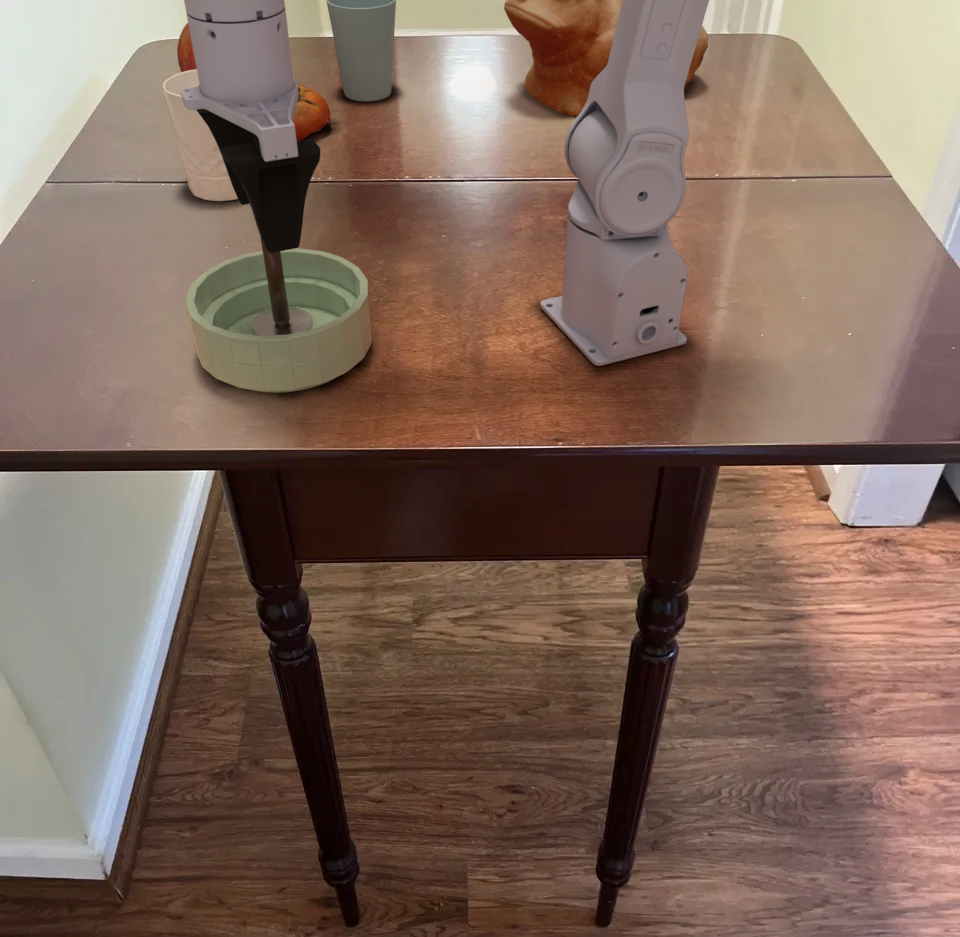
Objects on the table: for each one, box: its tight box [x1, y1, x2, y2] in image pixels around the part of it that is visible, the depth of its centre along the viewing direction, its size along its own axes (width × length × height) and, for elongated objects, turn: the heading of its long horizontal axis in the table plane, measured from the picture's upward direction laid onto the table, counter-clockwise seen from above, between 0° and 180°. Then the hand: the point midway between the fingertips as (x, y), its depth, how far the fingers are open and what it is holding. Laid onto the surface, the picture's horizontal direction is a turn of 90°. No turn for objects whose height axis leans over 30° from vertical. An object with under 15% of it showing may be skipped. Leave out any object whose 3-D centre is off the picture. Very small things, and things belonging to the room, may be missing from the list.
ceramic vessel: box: [503, 0, 709, 117], centre depth 109 cm, size 14×26×15 cm, turn 117°
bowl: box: [184, 247, 373, 394], centre depth 70 cm, size 13×13×5 cm
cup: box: [326, 0, 397, 102], centre depth 109 cm, size 8×8×10 cm
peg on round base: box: [252, 235, 314, 336], centre depth 68 cm, size 4×4×9 cm
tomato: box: [293, 84, 332, 141], centre depth 103 cm, size 8×7×7 cm
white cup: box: [161, 69, 239, 202], centre depth 90 cm, size 8×8×10 cm
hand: (268, 223), depth 65 cm, fingers open, 7 cm apart
